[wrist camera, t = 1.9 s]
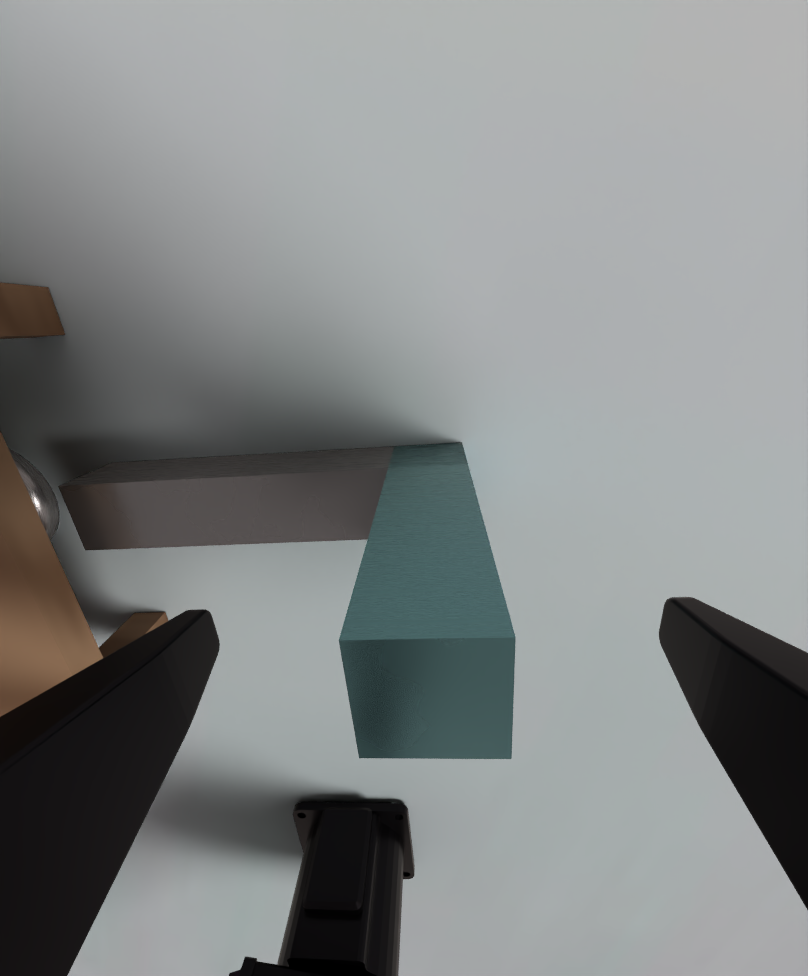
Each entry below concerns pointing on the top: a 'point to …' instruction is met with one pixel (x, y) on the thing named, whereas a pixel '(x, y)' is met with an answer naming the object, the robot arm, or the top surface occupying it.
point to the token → (39, 494)
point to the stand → (40, 558)
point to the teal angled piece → (380, 581)
